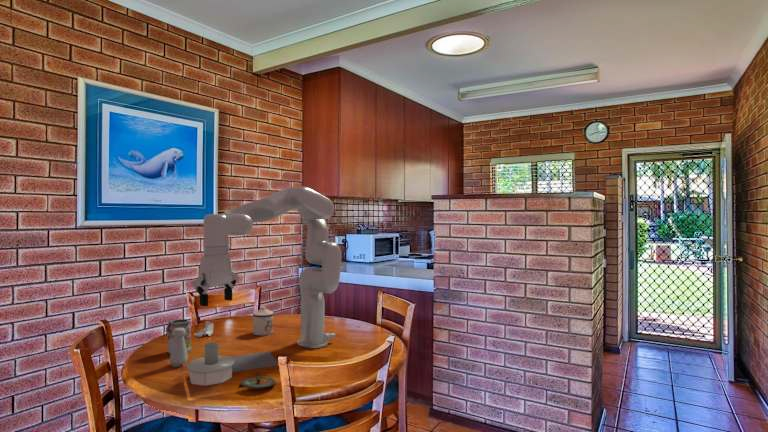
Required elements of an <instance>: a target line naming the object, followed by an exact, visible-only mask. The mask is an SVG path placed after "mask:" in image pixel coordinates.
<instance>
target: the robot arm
mask: <svg viewBox="0 0 768 432" xmlns="http://www.w3.org/2000/svg"><path fill="white" fill-rule="evenodd" d="M334 205H335V204H334V203H333V201H332V200H331V199H330V198H329V197H328V196H327V197H326V196H324V195H323V194H322V193H319V192H317V191H316V190H314V189H312V188H310V187H307V186H289V187H288V186H287V187H285V188H283V189H281V190H279V191H277V192H274V193H272V194H270V195H268V196H265V197H263V198H259V199H257V200H254V201H253V200H252V201H251V202H248V203H244V204H242V205H238V206H236V207H233V208H231V209H229V210H227V211H225V212H222V213H221V214H220V213H219V214H218V213H215V214H213V213H212V214H211V213H210V214H205V216H204V217H203V256H201V258H200V263H199V271H198V277H196V278H195V279H194V280H192V283H191V284H192V286H193V287H194V290H195V291H196V292H197V294H199V305H200V306H201V307H208V306H209V294H208V291H209V289H210V288H214V287H219V286H220V287H221V286H224V287H225V288H224V291H223V294H224V300H225V301H228V302H229V301H233V289H234V288H235V285H236V283H237V280H238V278H239V275H238V273H236V272H234V271H232V260H231V256H230V254H229V251H230V250H231V248H230V246H229V235H232V236H245V235H247V234H249V233H250V232H251V231H252V229H253V226H254V223H261V222H269V221H271V220H274V219H275V220H276V219H277V218H278V217H280V216H282V215H284V214H286V213H288V212H290V211H293V210H297V213H298V214H299V216H300V218H301V219H303V221H304V222H305V224H306V227H307V229H306V230H307V237H306V245H305V254H304V255H305V260H306V261H307V262H308V263H310V264H312V265H320V266H321V268H320V267H315V266H313V267H312V266H311V267H306V268H304V269H302V270H301V272H300V273H299V276H298V284H299V291H300V303H301V304H300V310H301V311H300V312H301V313H300V339H298V340H297V341H296V344H297V345H298V346H300V347H304V348H305V349H309V350H310V349H312V350H314V349H321V348H323V347H326V346H328V345H329V339H335V338H336V333H335V332H332V333H331V332H325V306H326V304H325V296H324V294H332V293H334V292H335V291H336V290H337V289H338V286H339V283H340V276H341V271H342V268H341V267H342V260H343V259H342V255H343V254H342V250H341V247H340V246H339V244H337V243H336V242H332V241H328V239H329V226H328V224H327V222H326V220H328V219H330V218H331V217H332V216H333V215H334V213H335V206H334Z"/></svg>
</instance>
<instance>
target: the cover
mask: <svg viewBox="0 0 768 432" xmlns="http://www.w3.org/2000/svg"><path fill="white" fill-rule="evenodd" d="M232 357H233V356H227V355H219V342H217V341H216V342H215V341H214V342H213V341H211V342H207V343H204V357H203V356H202V357H198V358H195V359H193V360H191V361H189V362H188V363H187V365H186V366H187V367H186V369H187V370H188V371H189V372H190V371H191V372H194V373H213V372H219V371H223V370H226V369H228V368H230V367H232V366H233V365H234V359H233V358H232Z"/></svg>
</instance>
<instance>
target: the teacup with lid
mask: <svg viewBox="0 0 768 432" xmlns="http://www.w3.org/2000/svg"><path fill="white" fill-rule="evenodd" d="M274 315H275V313H274V311H272V310H269V309H267V308H266V306H261V307H260V308H259V310H256V311H254V312H253V313H252V317H253V318H252V334H253V335H255V336H258V337H259V336H261V337H262V336H269V335H272V334H273V333H274Z"/></svg>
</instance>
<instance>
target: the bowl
mask: <svg viewBox="0 0 768 432" xmlns="http://www.w3.org/2000/svg"><path fill="white" fill-rule="evenodd" d="M232 377H233V372H232V367H230V368H228V369H226V370H223V371H219V372H213V373H194V372H191V371H189V380H190V383H191V384H192V385H197V386H204V387H205V386H206V387H207V386H211V385H212V386H213V385H218V384H222V383H224V382H227V381H228V380H230V379H231V378H232Z"/></svg>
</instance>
